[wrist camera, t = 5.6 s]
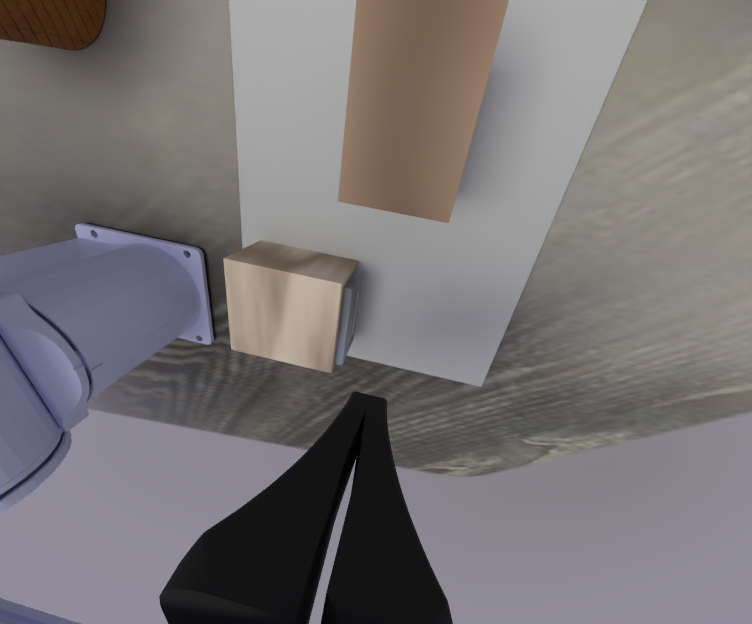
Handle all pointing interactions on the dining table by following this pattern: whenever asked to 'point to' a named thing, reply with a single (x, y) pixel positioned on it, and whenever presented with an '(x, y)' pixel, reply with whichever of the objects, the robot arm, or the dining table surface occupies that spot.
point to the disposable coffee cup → (52, 22)
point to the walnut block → (415, 101)
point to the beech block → (292, 304)
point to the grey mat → (477, 185)
